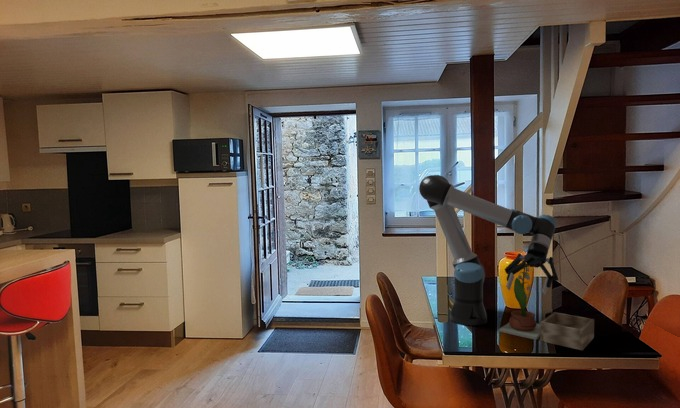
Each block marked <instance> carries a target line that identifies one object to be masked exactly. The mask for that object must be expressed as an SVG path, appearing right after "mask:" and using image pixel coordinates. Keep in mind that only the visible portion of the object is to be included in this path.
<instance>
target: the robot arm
mask: <svg viewBox="0 0 680 408" xmlns="http://www.w3.org/2000/svg"><path fill="white" fill-rule="evenodd" d="M418 186H419V187H418V188H419V194H420V195H421V197H422V198H423V199H424V200H425V201H426V202H427V204H428V207H429V209H432V210H433V211H434V213H435V216H436V218H437V220H438V222H439V225H440V227H441V230H442V232H443V234H444V237H445V240H446V243H447V244H448V247H449V250H450V252H451V254H452V258H453V260H452V266H453V269H454V271H453V276H454V277H453V278H454V280H453V281H454V283H453V285H454V287H453V289H454V292H453V293H454V302H453V304H452V307H451V310H450V314H449V319H450V321H451V322H454V323H456V324H459V325H464V326H482V325H485V324H487V323H488V314H487V311H486V308H485V306H484V282H485V279H486V278H485V277H486V270H485V267H484V266H483V264H481V261H480V258H479V256H478V253H477V254H476V253H474V252H473V251H472V249H471V246H470V244H469V241H468V238H467V236H466V234H465V231H464V229H463V226H462V224H461V222H460V219H459V216H458V214H457V212H456V210H455V209H458V210H460V211H462V212H464V213H465V212H466V213H468V214H470V215H473V216H475V217H478V218H481V219H483V220H486V221H488V222H491V223H493V224H496V225H499V226H501V227H503V228H506V229H508V230H511V231H513V232H515V233H516V234H519V235H526V234H531V235H532V236H531V239H530V242H529V245H528V248H527V250H526V254H524V255H522V253H518V254H517V255H516V258H514V260H512V262H510V263H509V264H508V265H507V266H506V267H505V268H504V271H505V274H507V276H506V281H507V283H506V288H507V289H506V290H509V291H510V290H511V287H512V284H513V281H514V280H515V276H514V275H516V274H517V273H520V272H521V271H522V270H524V267H525V266H526V267H527V268H535V269H536V268H540V269H541V270H542V272H543V273H544V274H545V276H546V277H545V280H544V281H543V286H542V289H541V293H542V295H543V296H547V291H548V289H550V288H551V286H552V284H553V281H556V282H557V281H559V277H558V274H557V270H556V267H555V266H554V265H555V260H554V258H553V257H552V256H550V257H548V253H549V250H550V247H551V243H552V239H553V237H554V234H555V230H556V227H557V226H556V225H557V220H556V219H555V218H554V216H552V215H550V214H549V215H548V214H541V215H539V216H538V217H537V216H534V215H531V214H528V213H525V212H522V211H521V210H518V209H515V208H514V209H513V208H511V209H510V208H507V207H504V206H502V205H499V204H497V203H493V202H491V201H488V200H486V199H484V198H480V197H479V196H476V195H474V194H472V193H471V194H470V193H468V192H465V191H463V190H461V189H460V190H459V189H458V188H455V186H454V185H453V184H451V183H449V181H448V179H447V178H445V177H444V176H443V175H439V174H434V175H431V174H430V175H427V176H425V177H424V178H423V179H421V181H420V184H419V185H418ZM546 263H547V264H549V267H550V269H551V272H552V274H551V273H550V272H549V271H548V268H547V267H546V266H545V265H544V264H546ZM527 265H528V266H529V267H528V266H527ZM526 267H525V269H526Z"/></svg>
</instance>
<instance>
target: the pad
mask: <svg viewBox="0 0 680 408" xmlns="http://www.w3.org/2000/svg"><path fill="white" fill-rule="evenodd" d="M536 325H537V326H536V327H535V328H534V329H532V330H528V331H524V330H518V329H515V328H513V327H512V326H511V325H510V324H509V322H507V323H506V324H505V325H503V326H501V327H500V328H499V329H498V332H499V333H505V334H509V335H514V336H518V337H522V338H527V339H530V340H535V341H537V340H538V339H539V338H540V333H541V323H537V322H536Z"/></svg>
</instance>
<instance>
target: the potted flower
mask: <svg viewBox="0 0 680 408" xmlns="http://www.w3.org/2000/svg"><path fill="white" fill-rule="evenodd" d="M527 266H528V265H527ZM525 267H526V266H525ZM525 267H524V269H523V271H519V275H517V277H516V278H514V283H513V284H514V285H513V292H514V297H515V300H517V302H518V304H519V307H520V310H512V311H511V312H510V314H511V315H510V318H509V321H508V323H509V324H510V325H511V326H512V327H513V328H515V329H518V330H524V331H528V330H532V329H534V328H535V327H536V326H537V325H536V323H537V320H536V318H535V313H534V312H531V311H529V310H526V307H527V301H528V294H527V293H526V291H531V287H530V285H529V283H528V282H526V281H525V279H526V280H528V281H529V280H531V277H530V274H529V273H528V272H530V266H528V267H526V268H525ZM521 273H522V275H521ZM526 283H527V286H526V288H525V284H526Z"/></svg>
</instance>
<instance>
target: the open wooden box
mask: <svg viewBox="0 0 680 408" xmlns="http://www.w3.org/2000/svg"><path fill="white" fill-rule="evenodd" d="M540 324H541V333H540V337H539V338H540V340H539V341H540V342H543V341H544V343H548V344H552V345H557V346H562V347H565V348H571V349H574V350H579V351H584V349H585V348H586V347H588V345H589V344H590V343H591V342H592V341H593V339H594V338H595V319H594V318H589V317H584V316H579V315H572V314H567V313H562V312H557V311H554V312H552V313H551V314H549V315H548V316H547V317H545V319H543V320H542V321H540Z"/></svg>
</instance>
